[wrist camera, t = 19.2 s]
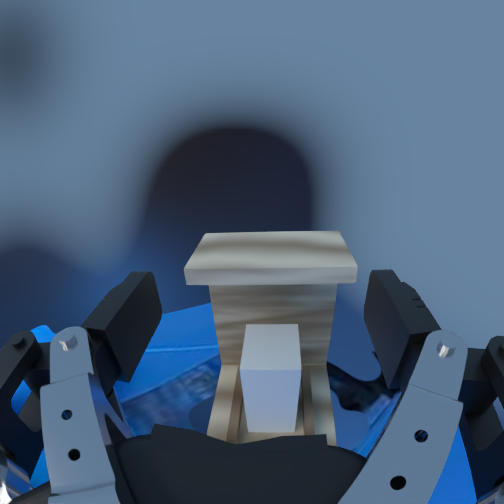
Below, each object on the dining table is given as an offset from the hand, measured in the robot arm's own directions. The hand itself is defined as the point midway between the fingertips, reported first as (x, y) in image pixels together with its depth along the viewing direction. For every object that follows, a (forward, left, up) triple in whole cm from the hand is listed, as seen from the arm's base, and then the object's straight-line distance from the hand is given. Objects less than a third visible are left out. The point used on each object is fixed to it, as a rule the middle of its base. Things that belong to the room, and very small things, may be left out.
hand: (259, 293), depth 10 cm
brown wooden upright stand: (-6, +10, -24) cm, 27 cm away
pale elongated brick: (-5, +9, -23) cm, 25 cm away
